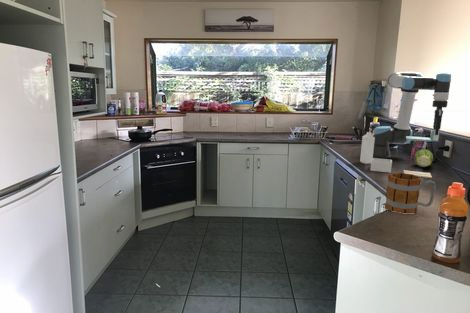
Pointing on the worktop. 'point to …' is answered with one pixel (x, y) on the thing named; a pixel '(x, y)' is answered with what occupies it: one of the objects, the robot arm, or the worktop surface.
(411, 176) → the mug
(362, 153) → the milk
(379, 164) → the tub
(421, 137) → the lid
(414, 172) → the board
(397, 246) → the worktop surface
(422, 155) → the lettuce
